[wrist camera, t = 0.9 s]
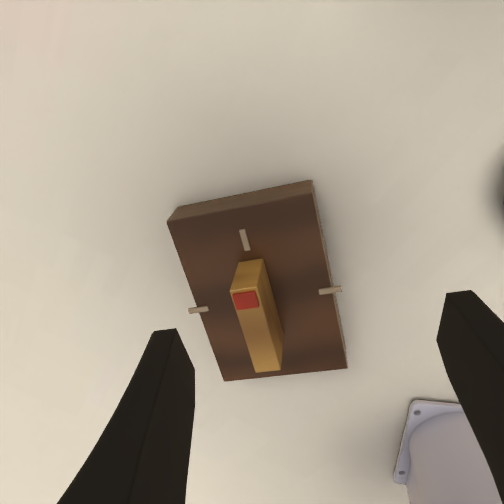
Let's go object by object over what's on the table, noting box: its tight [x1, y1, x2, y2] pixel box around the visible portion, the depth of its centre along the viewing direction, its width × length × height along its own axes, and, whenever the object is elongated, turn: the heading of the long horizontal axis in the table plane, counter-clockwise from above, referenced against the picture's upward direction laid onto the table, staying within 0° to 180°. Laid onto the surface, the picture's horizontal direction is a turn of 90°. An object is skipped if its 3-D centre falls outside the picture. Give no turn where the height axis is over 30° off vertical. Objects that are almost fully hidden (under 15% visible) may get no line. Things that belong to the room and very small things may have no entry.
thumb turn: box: [230, 258, 284, 373], centre depth 27 cm, size 6×2×4 cm, turn 14°
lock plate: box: [167, 180, 348, 381], centre depth 29 cm, size 13×10×3 cm
